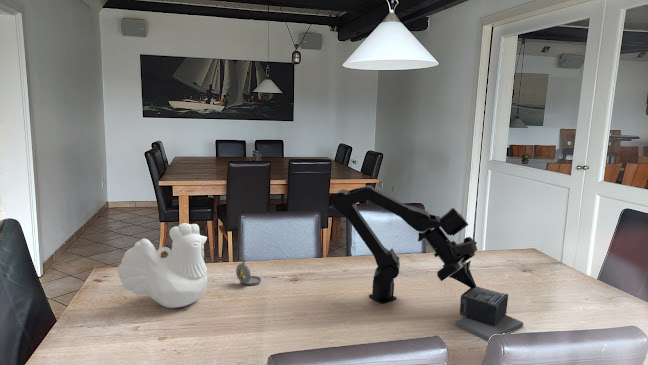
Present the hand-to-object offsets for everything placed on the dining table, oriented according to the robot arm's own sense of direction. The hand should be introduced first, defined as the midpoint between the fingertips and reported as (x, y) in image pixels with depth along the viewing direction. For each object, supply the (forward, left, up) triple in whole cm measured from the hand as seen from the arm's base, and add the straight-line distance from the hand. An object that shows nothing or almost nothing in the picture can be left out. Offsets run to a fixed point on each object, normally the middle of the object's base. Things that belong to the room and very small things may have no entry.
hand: (475, 288), depth 129 cm
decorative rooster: (-74, +57, -9) cm, 93 cm away
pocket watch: (-46, +58, -9) cm, 74 cm away
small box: (-1, +2, -4) cm, 5 cm away
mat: (-2, -7, -9) cm, 11 cm away
